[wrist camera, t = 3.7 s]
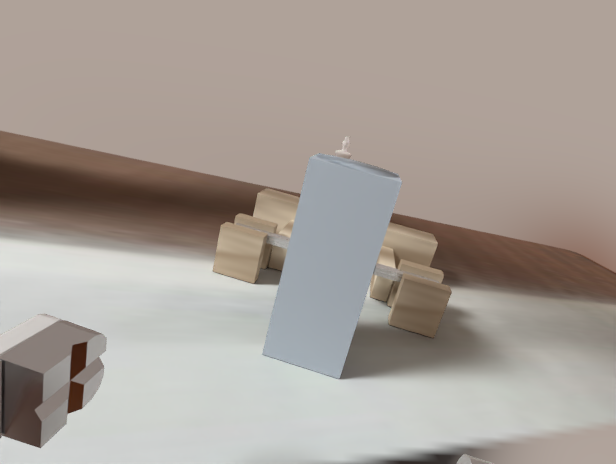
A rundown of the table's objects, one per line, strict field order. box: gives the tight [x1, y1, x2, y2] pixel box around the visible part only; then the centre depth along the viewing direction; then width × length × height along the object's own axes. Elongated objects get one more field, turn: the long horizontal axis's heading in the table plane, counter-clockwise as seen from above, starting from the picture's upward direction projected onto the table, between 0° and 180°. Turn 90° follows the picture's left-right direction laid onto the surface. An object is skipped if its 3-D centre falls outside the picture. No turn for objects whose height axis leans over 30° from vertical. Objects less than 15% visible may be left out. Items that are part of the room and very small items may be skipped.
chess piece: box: [335, 136, 351, 159], centre depth 48 cm, size 5×5×10 cm
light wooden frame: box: [213, 188, 452, 338], centre depth 31 cm, size 12×16×4 cm
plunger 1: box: [236, 223, 290, 249], centre depth 27 cm, size 1×6×1 cm, turn 79°
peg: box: [262, 153, 402, 379], centre depth 20 cm, size 4×4×10 cm
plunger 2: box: [372, 263, 439, 283], centre depth 26 cm, size 1×6×1 cm, turn 79°
